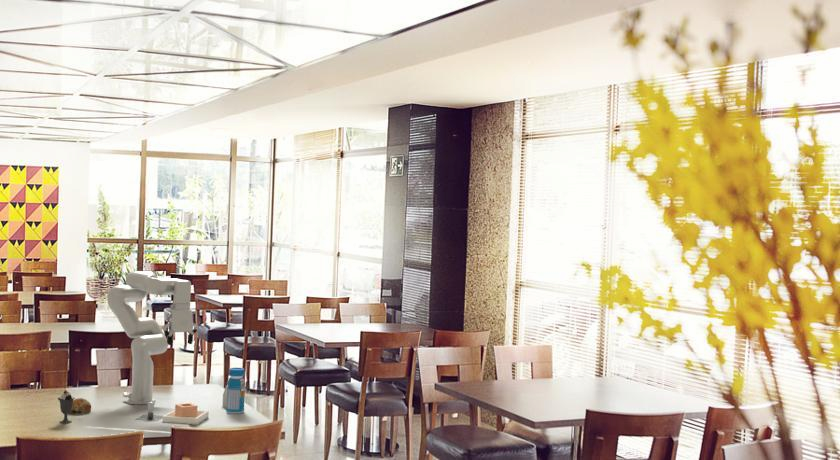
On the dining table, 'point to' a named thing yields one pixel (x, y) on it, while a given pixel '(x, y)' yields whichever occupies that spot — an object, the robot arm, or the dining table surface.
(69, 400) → the sundae
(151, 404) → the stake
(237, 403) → the beverage bottle
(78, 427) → the dining table surface
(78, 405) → the bread roll
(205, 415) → the tray
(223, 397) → the grey faceted block
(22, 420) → the dining table surface
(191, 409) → the collar
